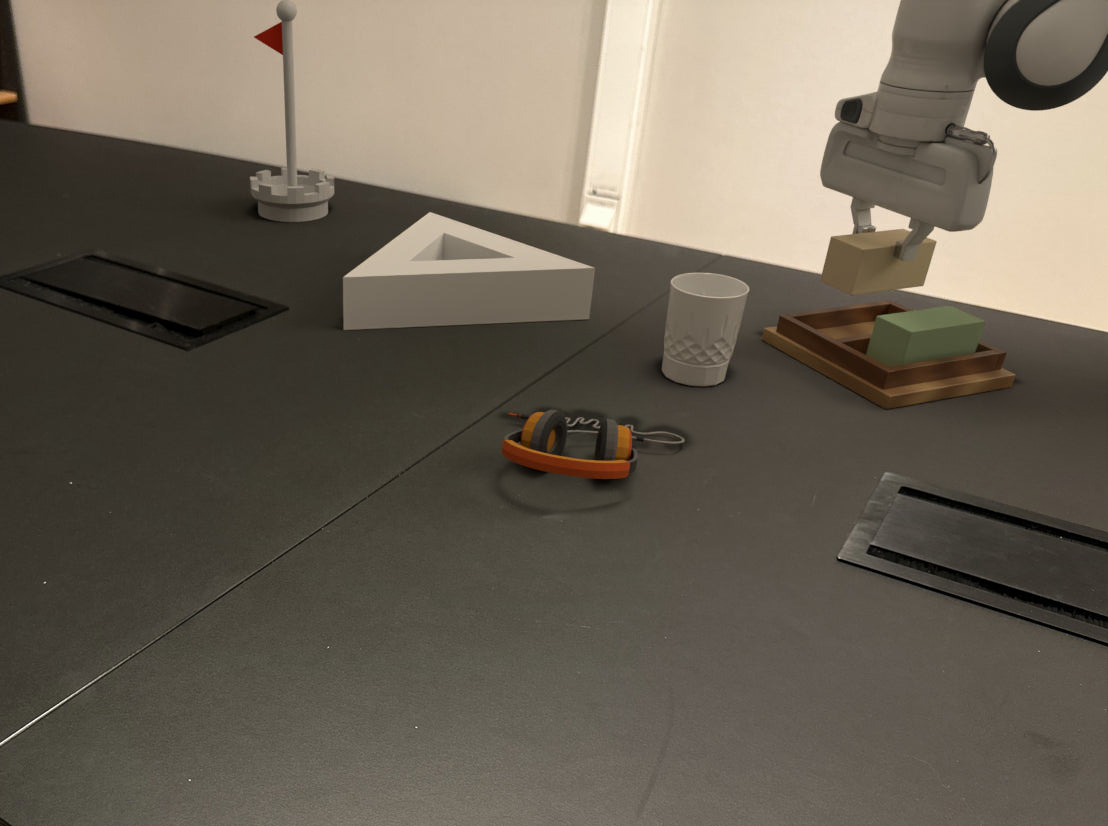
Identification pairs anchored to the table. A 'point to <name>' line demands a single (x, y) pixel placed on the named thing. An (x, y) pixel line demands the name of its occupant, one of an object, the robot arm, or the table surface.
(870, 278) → the beige block
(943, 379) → the wooden tray
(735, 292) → the white cup
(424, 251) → the triangle block
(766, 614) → the table surface
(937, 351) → the sage block
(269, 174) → the flag stand
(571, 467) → the headphones
